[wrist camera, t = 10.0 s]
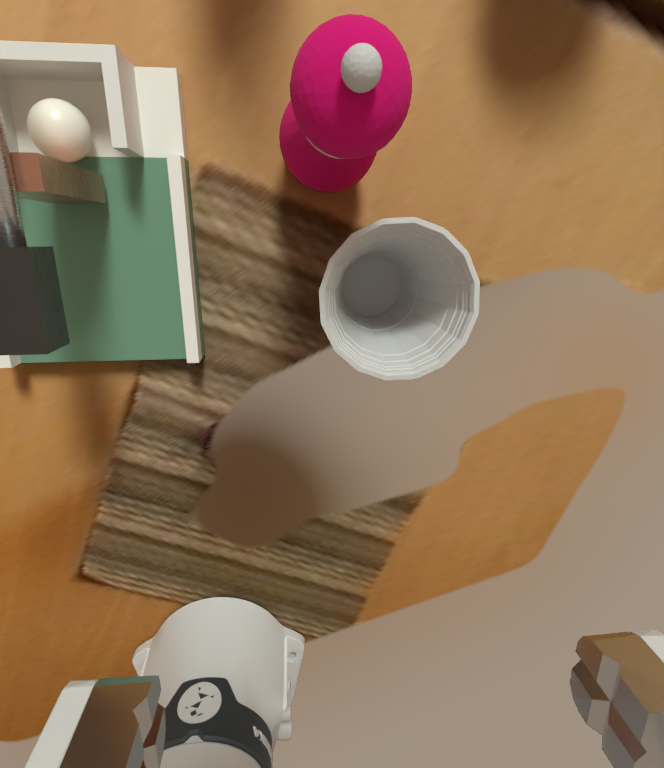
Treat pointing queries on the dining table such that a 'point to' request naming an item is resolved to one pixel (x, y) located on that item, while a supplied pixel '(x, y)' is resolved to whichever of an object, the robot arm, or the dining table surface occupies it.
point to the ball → (59, 130)
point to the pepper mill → (344, 101)
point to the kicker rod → (34, 249)
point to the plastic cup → (399, 298)
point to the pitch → (113, 204)
